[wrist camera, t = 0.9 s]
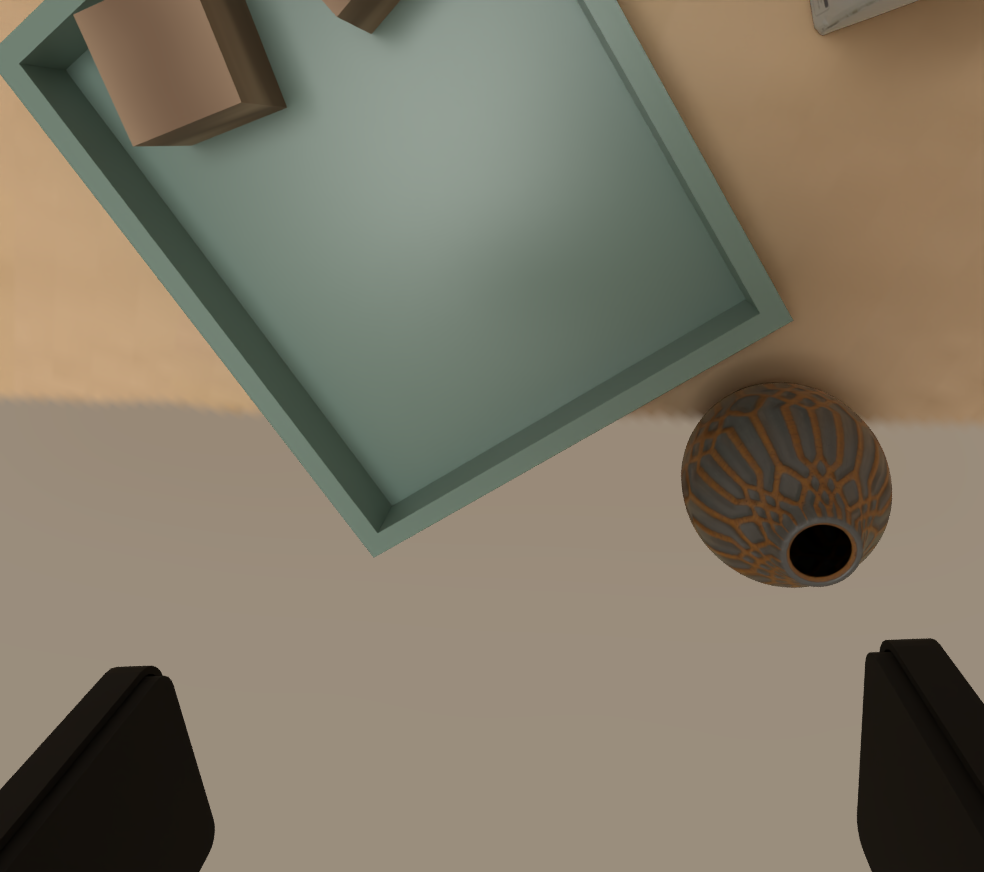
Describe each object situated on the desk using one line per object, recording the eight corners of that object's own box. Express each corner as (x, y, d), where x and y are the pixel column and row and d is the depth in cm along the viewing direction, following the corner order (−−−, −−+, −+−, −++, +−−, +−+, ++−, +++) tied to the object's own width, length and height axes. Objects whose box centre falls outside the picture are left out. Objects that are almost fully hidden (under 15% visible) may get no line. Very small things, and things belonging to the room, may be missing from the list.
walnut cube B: (240, -12, 27) (184, -37, 23) (287, 107, 28) (241, 102, 24) (142, 31, 28) (72, 14, 24) (191, 145, 29) (132, 146, 25)
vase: (888, 425, 30) (999, 529, 22) (772, 551, 33) (834, 687, 25) (746, 328, 30) (807, 399, 22) (638, 465, 32) (656, 575, 24)
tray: (437, -298, 24) (416, -363, 21) (771, 301, 29) (793, 320, 26) (49, 65, 29) (-14, 56, 26) (392, 520, 34) (373, 557, 31)
